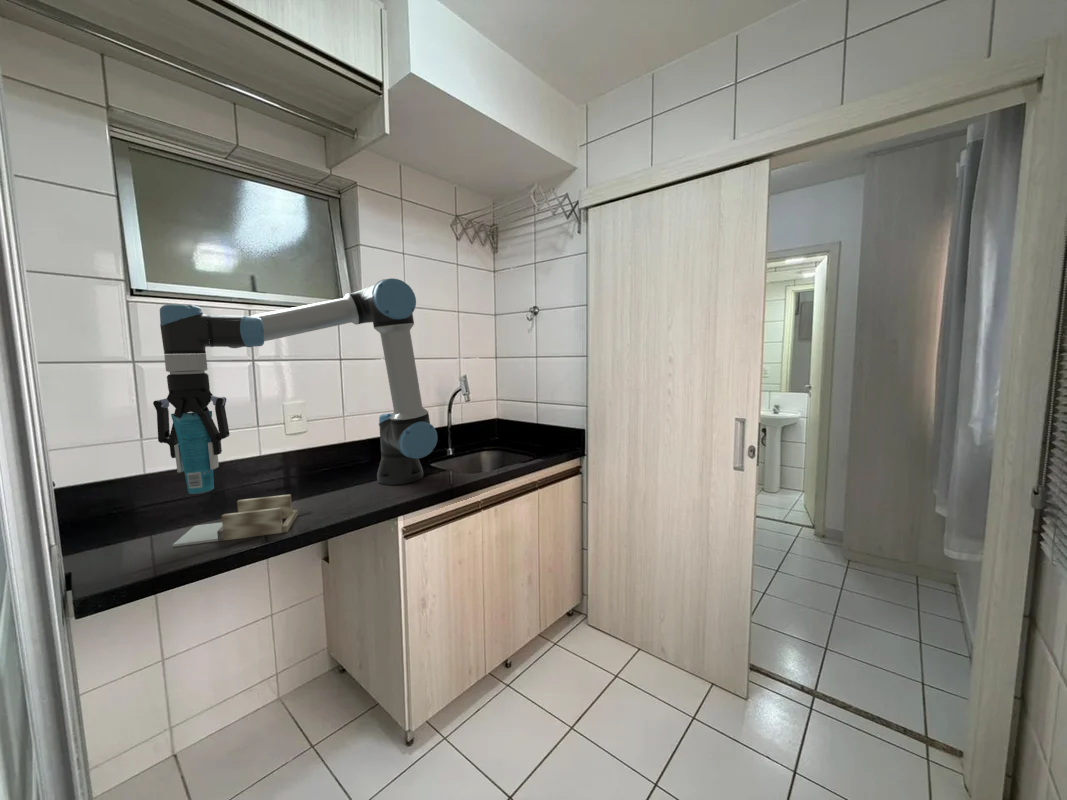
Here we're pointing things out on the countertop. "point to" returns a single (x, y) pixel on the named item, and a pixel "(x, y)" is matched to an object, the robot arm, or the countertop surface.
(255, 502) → the rack
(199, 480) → the tube
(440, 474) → the countertop surface
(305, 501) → the countertop surface
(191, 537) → the mat
